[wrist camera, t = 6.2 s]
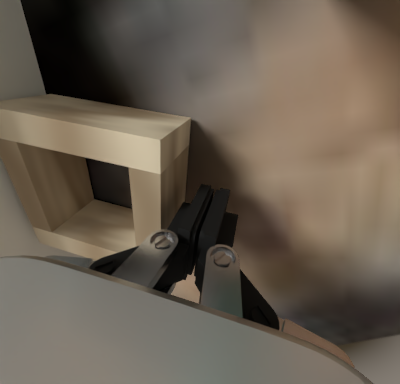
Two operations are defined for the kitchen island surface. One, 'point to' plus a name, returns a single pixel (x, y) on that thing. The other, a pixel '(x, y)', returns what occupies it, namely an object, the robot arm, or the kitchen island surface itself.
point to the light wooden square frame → (78, 172)
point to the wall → (6, 90)
